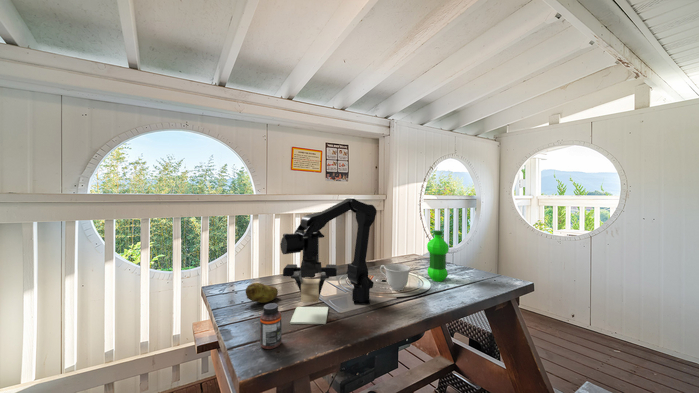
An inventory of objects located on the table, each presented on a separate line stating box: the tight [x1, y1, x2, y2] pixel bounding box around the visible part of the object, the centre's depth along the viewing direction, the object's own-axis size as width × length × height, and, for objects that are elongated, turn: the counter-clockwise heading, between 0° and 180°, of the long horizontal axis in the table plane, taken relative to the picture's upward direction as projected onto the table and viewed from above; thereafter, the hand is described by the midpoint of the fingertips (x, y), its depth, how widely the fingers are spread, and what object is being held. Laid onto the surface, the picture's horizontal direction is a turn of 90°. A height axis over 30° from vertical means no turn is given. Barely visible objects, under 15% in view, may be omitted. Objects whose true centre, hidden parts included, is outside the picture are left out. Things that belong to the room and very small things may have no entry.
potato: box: [245, 282, 279, 304], centre depth 108 cm, size 8×13×8 cm, turn 116°
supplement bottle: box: [259, 302, 282, 350], centre depth 78 cm, size 6×6×11 cm
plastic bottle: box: [426, 229, 450, 283], centre depth 137 cm, size 10×10×25 cm
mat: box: [289, 306, 329, 325], centre depth 96 cm, size 12×12×1 cm
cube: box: [300, 278, 321, 303], centre depth 96 cm, size 6×6×6 cm
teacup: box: [379, 263, 412, 292], centre depth 124 cm, size 12×15×10 cm
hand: (310, 294), depth 96 cm, fingers closed on cube, 6 cm apart
